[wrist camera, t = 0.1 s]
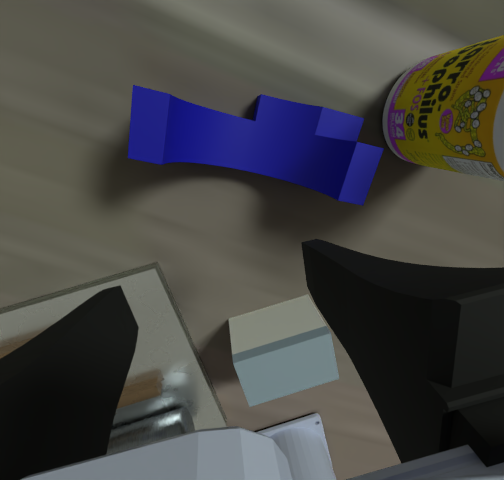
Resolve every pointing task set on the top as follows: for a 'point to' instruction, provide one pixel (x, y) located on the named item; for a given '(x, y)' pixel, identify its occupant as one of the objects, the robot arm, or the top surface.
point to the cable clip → (258, 141)
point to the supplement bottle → (451, 111)
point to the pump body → (281, 350)
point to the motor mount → (135, 358)
